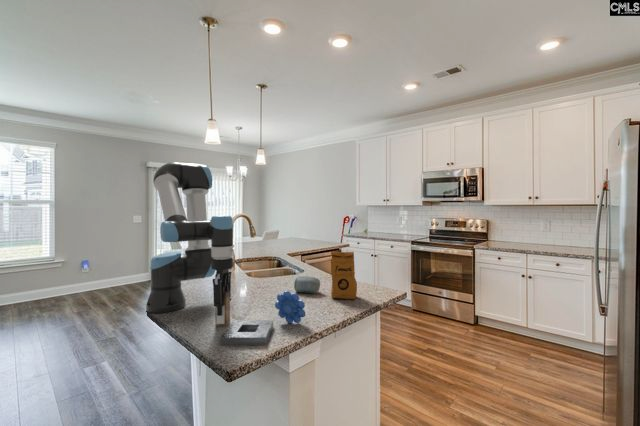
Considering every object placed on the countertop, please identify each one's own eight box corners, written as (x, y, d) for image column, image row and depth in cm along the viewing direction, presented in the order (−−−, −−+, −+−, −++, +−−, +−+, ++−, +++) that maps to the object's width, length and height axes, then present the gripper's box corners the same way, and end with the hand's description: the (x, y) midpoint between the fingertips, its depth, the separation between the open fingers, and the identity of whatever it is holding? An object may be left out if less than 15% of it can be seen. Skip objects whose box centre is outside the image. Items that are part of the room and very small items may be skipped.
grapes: (271, 326, 104) (270, 293, 104) (277, 319, 111) (277, 288, 111) (302, 329, 102) (302, 295, 102) (307, 321, 108) (306, 289, 108)
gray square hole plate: (220, 345, 90) (220, 337, 90) (234, 327, 104) (233, 320, 104) (265, 345, 90) (265, 337, 90) (273, 327, 104) (273, 320, 104)
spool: (288, 287, 145) (296, 268, 148) (295, 291, 153) (303, 273, 156) (311, 297, 139) (319, 278, 142) (317, 301, 147) (325, 282, 150)
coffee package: (356, 301, 132) (356, 253, 132) (329, 299, 135) (329, 252, 135) (357, 295, 142) (357, 250, 142) (332, 293, 145) (332, 249, 144)
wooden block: (215, 326, 105) (215, 293, 105) (219, 322, 109) (219, 290, 109) (226, 326, 105) (226, 293, 105) (230, 322, 109) (229, 290, 109)
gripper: (224, 261, 98) (225, 330, 98) (239, 254, 115) (239, 312, 115) (202, 261, 98) (203, 330, 98) (220, 254, 115) (220, 313, 115)
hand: (222, 321), depth 107 cm, fingers closed on wooden block, 4 cm apart
